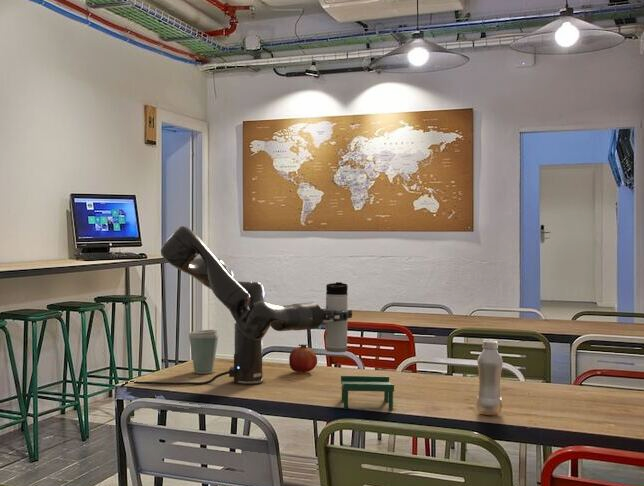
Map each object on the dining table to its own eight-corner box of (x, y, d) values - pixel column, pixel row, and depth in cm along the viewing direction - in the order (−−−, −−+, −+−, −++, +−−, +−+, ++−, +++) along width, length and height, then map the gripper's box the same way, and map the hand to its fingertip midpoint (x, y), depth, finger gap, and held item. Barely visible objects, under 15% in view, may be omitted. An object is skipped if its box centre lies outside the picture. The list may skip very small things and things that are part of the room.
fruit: (306, 369, 269) (306, 341, 269) (323, 373, 260) (323, 345, 260) (282, 371, 264) (282, 343, 263) (298, 376, 255) (298, 347, 255)
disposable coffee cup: (187, 375, 258) (187, 332, 257) (190, 369, 269) (190, 328, 268) (217, 375, 258) (217, 332, 257) (219, 369, 268) (219, 328, 268)
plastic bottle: (472, 412, 204) (473, 339, 203) (495, 411, 204) (496, 339, 204) (481, 417, 197) (482, 343, 197) (506, 417, 198) (507, 342, 197)
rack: (343, 409, 207) (343, 383, 207) (340, 399, 219) (340, 375, 219) (394, 410, 206) (394, 384, 206) (388, 400, 218) (388, 376, 218)
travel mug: (349, 349, 220) (349, 282, 219) (344, 352, 214) (345, 283, 213) (328, 348, 222) (329, 282, 221) (323, 351, 216) (324, 283, 215)
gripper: (284, 327, 214) (324, 323, 225) (320, 332, 203) (361, 328, 214) (284, 301, 214) (324, 298, 224) (320, 305, 203) (361, 302, 213)
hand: (342, 313), depth 219 cm, fingers closed on travel mug, 6 cm apart
